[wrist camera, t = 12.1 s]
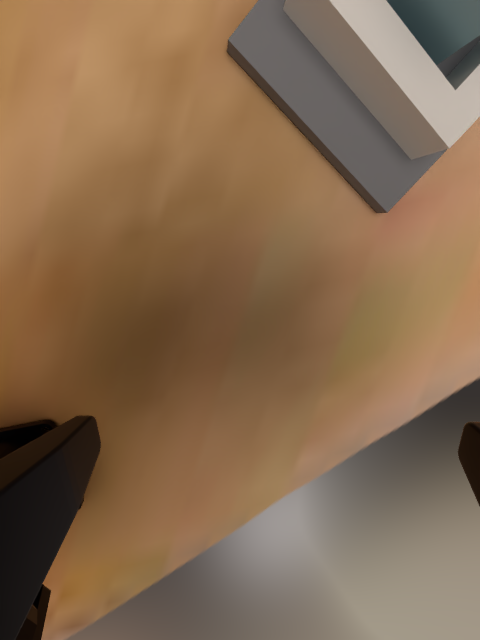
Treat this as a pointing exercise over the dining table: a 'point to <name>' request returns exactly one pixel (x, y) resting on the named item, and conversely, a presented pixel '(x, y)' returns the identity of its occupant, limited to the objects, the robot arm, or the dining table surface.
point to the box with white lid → (440, 24)
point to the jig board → (360, 88)
